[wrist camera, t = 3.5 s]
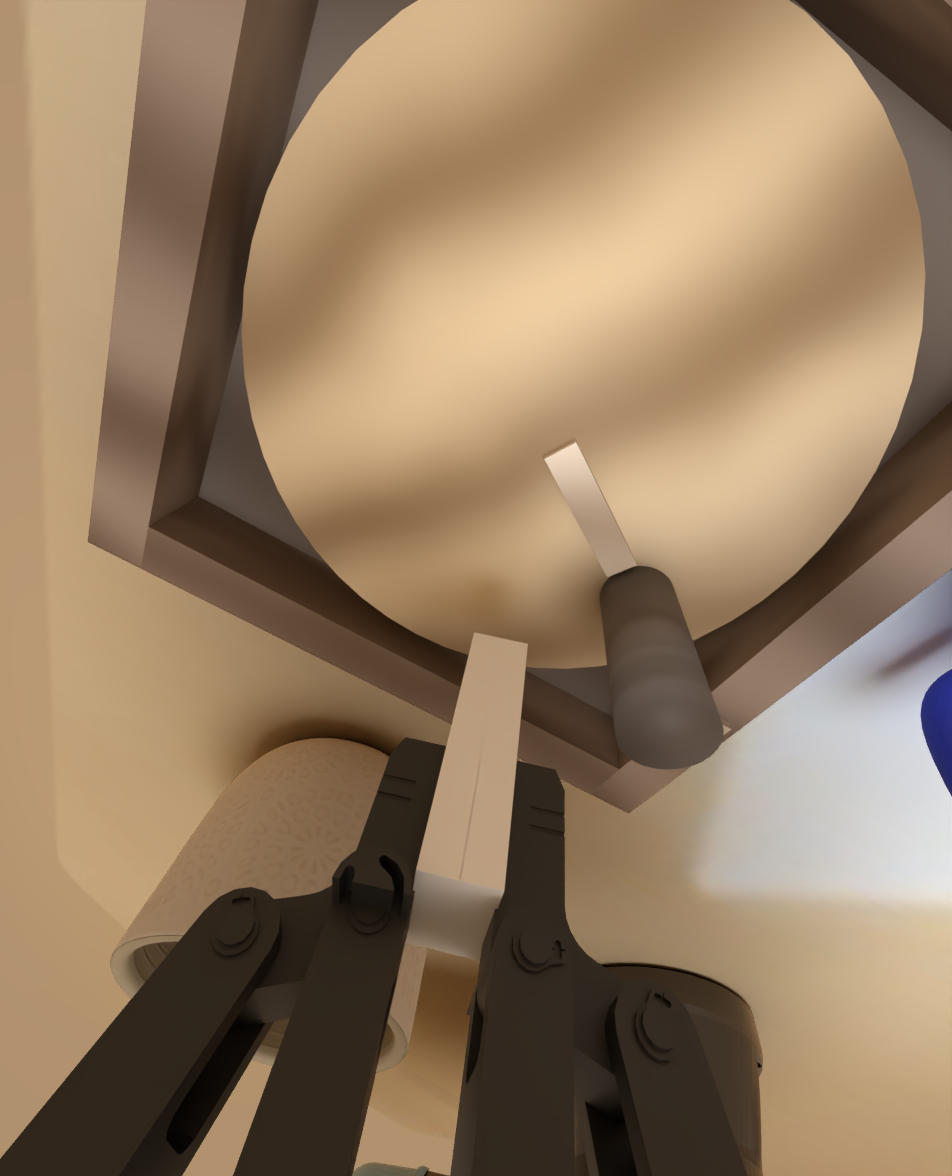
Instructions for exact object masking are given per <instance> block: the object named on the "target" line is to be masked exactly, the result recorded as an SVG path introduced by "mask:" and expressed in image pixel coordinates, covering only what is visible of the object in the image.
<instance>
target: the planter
mask: <svg viewBox="0 0 952 1176" xmlns="http://www.w3.org/2000/svg"><path fill="white" fill-rule="evenodd" d="M389 757H390V756H388V755H386V754H385V753H383V752H381V751H379V750H377V749H374V748H372V747H369V746H367V745H364V744H361V743H357V742H353V741H348V740H343V739H334V738H313V739H305V740H300V741H295V742H292V743H288V744H285V745H283V746H280V747H278V748H276V749H274V750H272V751H270V752H268V753H266V754H265V755H263V756H262V757H260V758H259V759H257V760H256V761H255V762H253V763H252V764H251V765H250V766H248V767H247V768H246V769H245V770H244V771H243V772H241V773H240V774H239V775H238V776H237V777H236V778H235V779H234V781H233V782H232V783H231V784H230V785H229V786H228V787H227V789H226V790H225V791H224V792H223V793H222V794H221V795H220V797H219V798H218V799H217V801H216V802H215V803H214V805H213V806H212V808H211V809H210V810H209V812H208V813H207V815H206V816H205V817H204V819H203V820H202V822H201V823H200V824H199V826H198V827H197V829H196V830H195V831H194V833H193V834H192V836H191V837H190V838H189V840H188V841H187V843H186V844H185V846H184V847H183V849H182V850H181V852H180V853H179V855H178V856H177V858H176V859H175V861H174V862H173V864H172V865H171V867H170V868H169V870H168V871H167V873H166V874H165V876H164V877H163V879H162V880H161V882H160V883H159V885H158V886H157V888H156V889H155V891H154V892H153V893H152V895H151V896H150V898H149V899H148V901H147V902H146V904H145V905H144V906H143V908H142V909H141V911H140V912H139V914H138V915H137V916H136V918H135V919H134V921H133V922H132V924H131V925H130V927H129V928H128V930H127V931H126V933H125V935H124V936H123V937H122V939H121V941H120V942H119V944H118V945H117V947H116V948H115V950H114V952H113V954H112V957H111V962H110V965H111V970H112V974H113V976H114V978H115V980H116V982H117V983H118V985H119V986H120V988H121V989H122V990H123V991H124V992H125V993H126V994H127V995H128V996H129V997H130V998H131V999H132V998H133V997H134V995H135V994H136V993H137V992H138V990H139V989H140V988H141V987H142V986H143V984H144V983H145V982H146V981H147V979H148V978H149V977H150V976H151V975H152V973H153V972H154V971H155V970H156V968H157V967H158V966H159V965H160V964H161V962H162V961H163V960H164V959H165V958H166V956H167V955H168V954H169V953H170V951H171V950H172V949H173V948H174V947H175V945H176V944H177V943H178V942H179V940H180V939H181V938H182V937H183V936H184V934H185V933H186V932H187V931H188V929H189V928H190V927H191V926H192V925H193V923H194V922H195V921H196V920H197V919H198V917H199V916H200V915H201V914H202V912H203V911H204V910H205V909H206V908H207V907H208V906H209V905H211V904H212V903H213V902H214V901H215V900H216V899H217V898H218V897H220V896H222V895H224V894H226V893H228V892H230V891H232V890H234V889H239V888H247V887H253V888H257V889H260V890H264V891H266V892H267V893H268V894H269V895H270V896H271V897H272V898H273V899H279V898H287V897H294V896H302V895H308V894H312V893H316V892H320V891H322V890H324V889H326V888H328V887H330V886H331V885H332V876H333V874H334V873H335V871H336V869H337V868H338V866H339V864H340V863H341V862H342V861H343V860H344V859H345V858H347V857H348V856H349V855H350V854H351V853H353V852H354V851H356V849H357V847H358V844H359V841H360V838H361V835H362V833H363V830H364V827H365V824H366V821H367V818H368V816H369V813H370V810H371V807H372V804H373V802H374V799H375V796H376V794H377V790H378V788H379V785H380V782H381V779H382V777H383V774H384V771H385V768H386V765H387V762H388V759H389ZM427 949H428V948H424V947H419V946H415V945H411V944H407V943H405V946H404V950H403V955H402V959H401V963H400V967H399V972H398V978H397V984H396V988H395V992H394V997H393V1001H392V1005H391V1010H390V1014H389V1018H388V1022H387V1027H386V1031H385V1035H384V1040H383V1044H382V1048H381V1053H380V1057H379V1061H378V1066H377V1070H376V1072H380V1071H384V1070H386V1069H389V1068H391V1067H393V1066H395V1065H396V1064H398V1063H399V1062H400V1061H401V1060H402V1059H403V1058H404V1057H405V1055H406V1053H407V1051H408V1047H409V1043H410V1038H411V1034H412V1029H413V1023H414V1018H415V1013H416V1008H417V1002H418V996H419V991H420V985H421V980H422V974H423V969H424V964H425V959H426V954H427ZM289 1020H290V1018H289V1019H283V1020H278V1021H274V1023H273V1025H272V1026H271V1028H270V1030H269V1031H268V1033H267V1035H266V1036H265V1038H264V1040H263V1041H262V1043H261V1045H260V1046H259V1048H258V1050H257V1051H256V1053H255V1055H254V1056H253V1058H252V1060H253V1061H257V1062H260V1063H263V1064H267V1065H272V1066H273V1064H274V1061H275V1058H276V1056H277V1053H278V1050H279V1047H280V1045H281V1042H282V1039H283V1036H284V1034H285V1031H286V1028H287V1025H288V1023H289Z"/></svg>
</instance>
